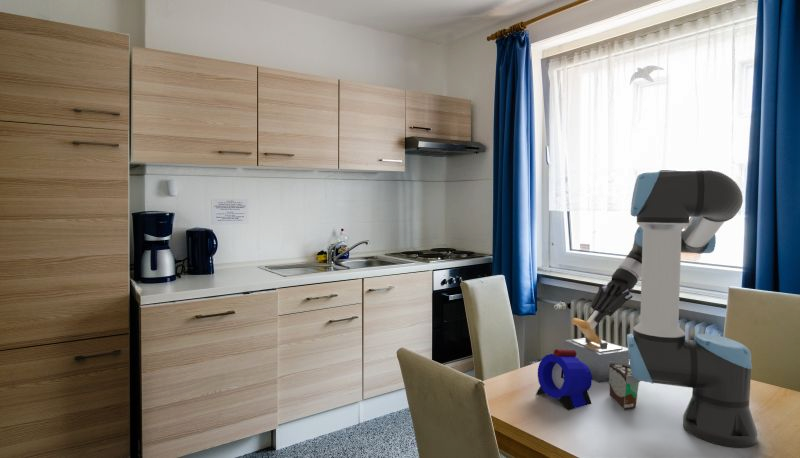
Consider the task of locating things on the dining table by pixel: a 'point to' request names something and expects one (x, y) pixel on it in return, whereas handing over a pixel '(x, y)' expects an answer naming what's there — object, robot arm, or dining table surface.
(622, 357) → the box
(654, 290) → the robot arm
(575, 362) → the alarm clock
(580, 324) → the lever
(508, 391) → the dining table surface
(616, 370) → the food container
